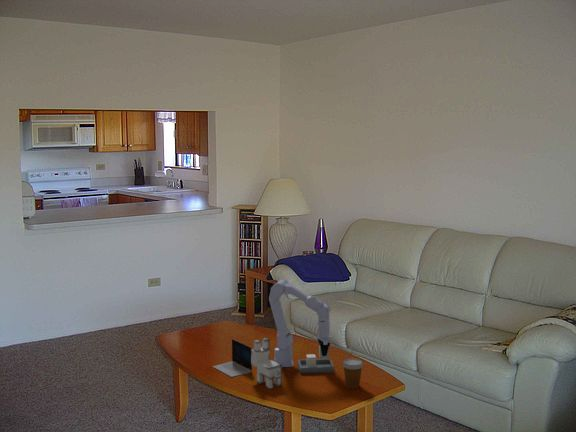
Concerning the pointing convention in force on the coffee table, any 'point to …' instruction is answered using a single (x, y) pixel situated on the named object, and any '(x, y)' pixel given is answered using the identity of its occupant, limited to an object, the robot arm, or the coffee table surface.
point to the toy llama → (265, 364)
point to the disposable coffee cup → (352, 372)
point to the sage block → (321, 353)
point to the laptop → (237, 360)
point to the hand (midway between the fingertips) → (323, 354)
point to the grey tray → (321, 366)
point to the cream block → (310, 360)
